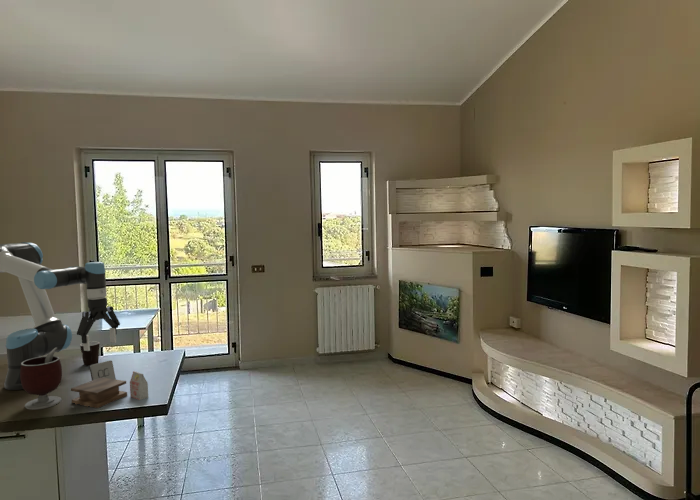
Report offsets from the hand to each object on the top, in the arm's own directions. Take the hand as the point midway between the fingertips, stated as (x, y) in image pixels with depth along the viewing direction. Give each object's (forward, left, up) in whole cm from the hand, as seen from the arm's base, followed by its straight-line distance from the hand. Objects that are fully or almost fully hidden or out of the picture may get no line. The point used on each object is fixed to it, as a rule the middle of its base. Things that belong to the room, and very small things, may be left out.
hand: (100, 346), depth 221 cm
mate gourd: (-2, -25, -16) cm, 30 cm away
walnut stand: (+16, -15, -16) cm, 27 cm away
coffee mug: (-29, +18, -16) cm, 38 cm away
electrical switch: (0, 0, -16) cm, 16 cm away
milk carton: (+29, -7, -16) cm, 34 cm away
